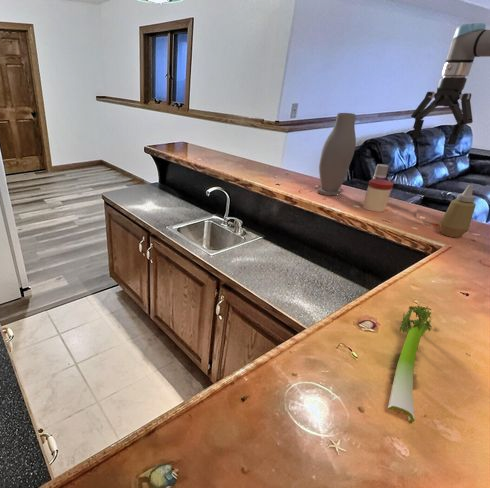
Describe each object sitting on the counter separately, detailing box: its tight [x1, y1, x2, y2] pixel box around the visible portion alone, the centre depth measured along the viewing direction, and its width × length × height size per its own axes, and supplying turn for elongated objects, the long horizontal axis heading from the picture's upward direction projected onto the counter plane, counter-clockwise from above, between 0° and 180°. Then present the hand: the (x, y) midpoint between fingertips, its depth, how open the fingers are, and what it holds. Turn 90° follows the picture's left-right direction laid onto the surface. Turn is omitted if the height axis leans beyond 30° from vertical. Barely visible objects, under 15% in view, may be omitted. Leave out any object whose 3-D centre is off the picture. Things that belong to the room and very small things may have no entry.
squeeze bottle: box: [439, 183, 477, 239], centre depth 118 cm, size 8×8×18 cm
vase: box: [316, 112, 357, 196], centre depth 155 cm, size 13×13×35 cm
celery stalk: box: [387, 305, 433, 424], centre depth 67 cm, size 6×7×30 cm
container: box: [372, 163, 390, 180], centre depth 153 cm, size 5×5×15 cm
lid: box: [368, 178, 395, 190], centre depth 141 cm, size 8×8×2 cm
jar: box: [362, 184, 393, 213], centre depth 143 cm, size 8×8×10 cm
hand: (432, 141), depth 128 cm, fingers open, 13 cm apart
